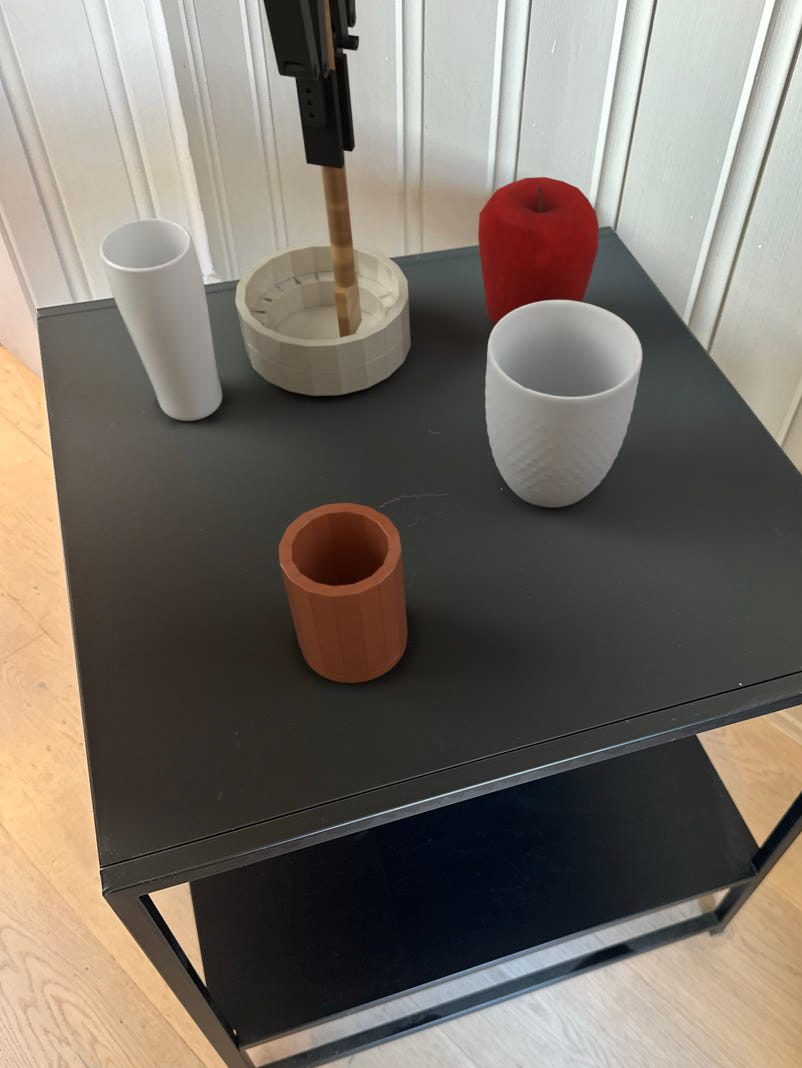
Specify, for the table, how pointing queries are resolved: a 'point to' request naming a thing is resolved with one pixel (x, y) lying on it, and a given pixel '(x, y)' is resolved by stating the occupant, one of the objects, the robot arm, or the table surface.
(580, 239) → the apple
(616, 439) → the mug
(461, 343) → the table surface
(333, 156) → the robot arm
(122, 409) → the table surface
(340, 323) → the wooden rod
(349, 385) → the bowl
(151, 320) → the white cylinder cup
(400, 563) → the crock
